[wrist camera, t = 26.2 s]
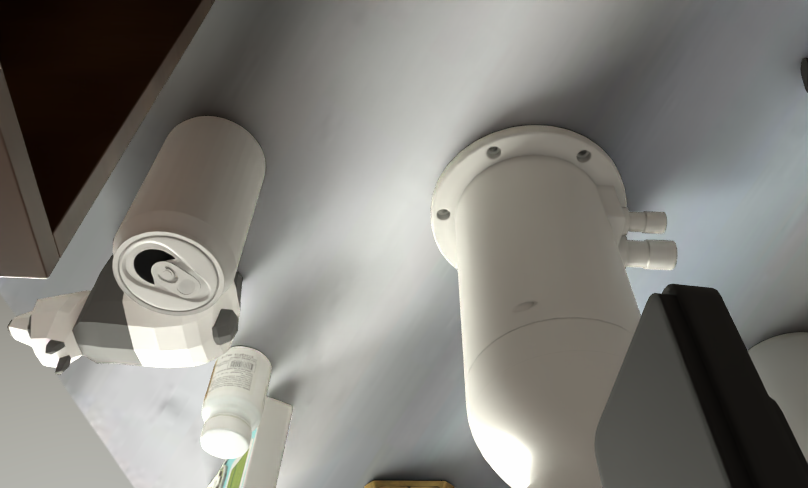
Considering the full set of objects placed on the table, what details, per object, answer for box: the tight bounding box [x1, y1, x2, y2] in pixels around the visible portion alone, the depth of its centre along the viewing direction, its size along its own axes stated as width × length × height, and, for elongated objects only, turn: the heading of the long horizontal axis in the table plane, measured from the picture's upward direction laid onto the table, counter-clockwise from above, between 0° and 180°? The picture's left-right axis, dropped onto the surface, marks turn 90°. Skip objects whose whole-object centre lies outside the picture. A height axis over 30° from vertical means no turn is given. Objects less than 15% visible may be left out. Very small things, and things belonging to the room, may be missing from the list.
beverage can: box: [113, 116, 266, 316], centre depth 44 cm, size 6×6×12 cm
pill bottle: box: [200, 346, 272, 459], centre depth 57 cm, size 4×4×8 cm
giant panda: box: [7, 239, 243, 375], centre depth 50 cm, size 15×6×10 cm, turn 93°
